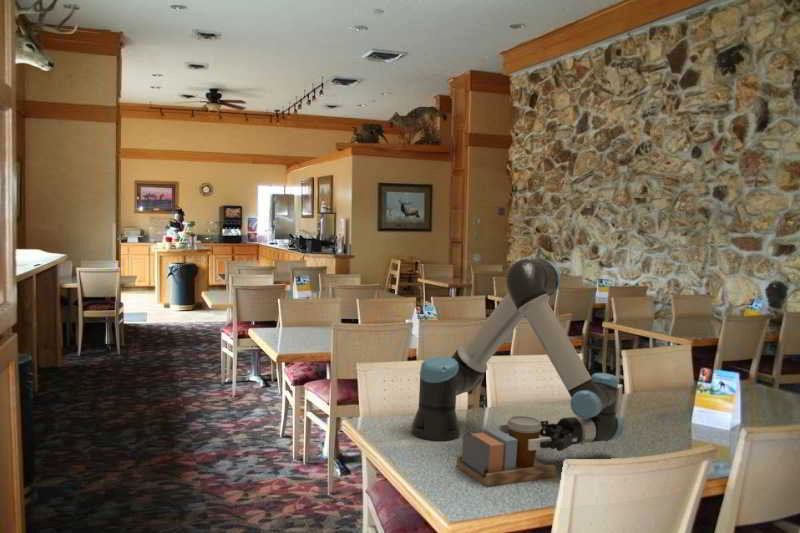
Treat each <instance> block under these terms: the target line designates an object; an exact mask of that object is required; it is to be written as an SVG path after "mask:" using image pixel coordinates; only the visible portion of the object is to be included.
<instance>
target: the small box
mask: <svg viewBox="0 0 800 533" xmlns="http://www.w3.org/2000/svg"><path fill="white" fill-rule="evenodd" d="M622 396H623V384H619V383H618V392H617V404H616V414H617V415H618V416H619V417H620V418H621V412H622V411H621V408H622V398H623V397H622Z"/></svg>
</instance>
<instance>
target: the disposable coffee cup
mask: <svg viewBox="0 0 800 533" xmlns="http://www.w3.org/2000/svg"><path fill="white" fill-rule="evenodd" d="M540 421H541V420H539V419H537V418H534V417H531V416H524V415H522V416H521V415H515V416H514V415H513V416H511V417H509V418H508V421H507V422H506V424H507V426H508V431H509V434H508V435H509V436H511V437H513V438H515V439H517V440H518V441H517V456H516V466H517V467H524V468H528V467H532V466H533V464H534V460H536V459H535V458H536V453H537V450H531V451H529V450H528V440H530V439H539V438H540V431H541V429H542V426H541V422H540Z"/></svg>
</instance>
